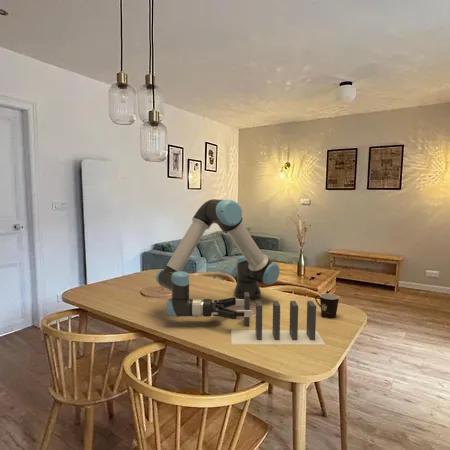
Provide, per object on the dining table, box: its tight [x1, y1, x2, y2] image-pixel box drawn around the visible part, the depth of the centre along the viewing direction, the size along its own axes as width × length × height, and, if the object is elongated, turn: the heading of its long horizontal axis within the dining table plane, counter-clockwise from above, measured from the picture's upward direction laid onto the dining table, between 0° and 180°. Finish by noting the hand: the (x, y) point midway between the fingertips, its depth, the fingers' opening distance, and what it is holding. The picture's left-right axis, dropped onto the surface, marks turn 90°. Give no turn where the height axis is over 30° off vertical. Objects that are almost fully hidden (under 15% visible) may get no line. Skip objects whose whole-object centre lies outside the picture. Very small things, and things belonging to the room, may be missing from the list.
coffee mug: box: [314, 293, 340, 320], centre depth 155 cm, size 12×9×10 cm
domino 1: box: [243, 292, 251, 328], centre depth 144 cm, size 2×6×14 cm, turn 0°
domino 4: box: [289, 300, 299, 340], centre depth 131 cm, size 2×6×14 cm, turn 0°
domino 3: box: [272, 300, 281, 340], centre depth 131 cm, size 2×6×14 cm, turn 0°
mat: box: [230, 329, 326, 346], centre depth 131 cm, size 13×36×1 cm, turn 90°
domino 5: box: [306, 300, 317, 340], centre depth 131 cm, size 2×6×14 cm, turn 0°
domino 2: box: [255, 300, 263, 340], centre depth 131 cm, size 2×6×14 cm, turn 0°
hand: (251, 307), depth 143 cm, fingers open, 13 cm apart
